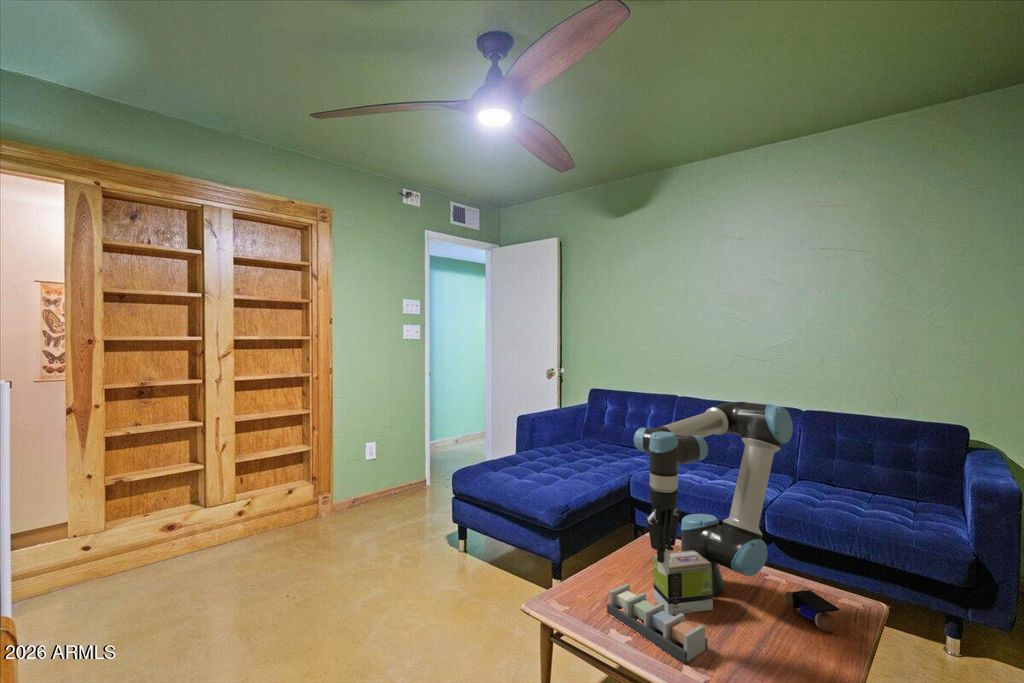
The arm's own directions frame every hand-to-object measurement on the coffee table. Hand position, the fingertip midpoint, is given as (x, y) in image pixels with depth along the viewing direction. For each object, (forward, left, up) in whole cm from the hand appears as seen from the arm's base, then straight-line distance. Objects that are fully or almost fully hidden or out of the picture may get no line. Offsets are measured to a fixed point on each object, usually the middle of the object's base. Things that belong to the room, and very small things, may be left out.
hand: (663, 572), depth 132 cm
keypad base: (0, -3, -18) cm, 18 cm away
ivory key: (0, -13, -15) cm, 20 cm away
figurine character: (-43, +20, -18) cm, 51 cm away
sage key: (0, -7, -15) cm, 16 cm away
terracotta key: (0, +7, -15) cm, 16 cm away
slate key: (0, 0, -15) cm, 15 cm away
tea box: (-19, -7, -18) cm, 27 cm away
